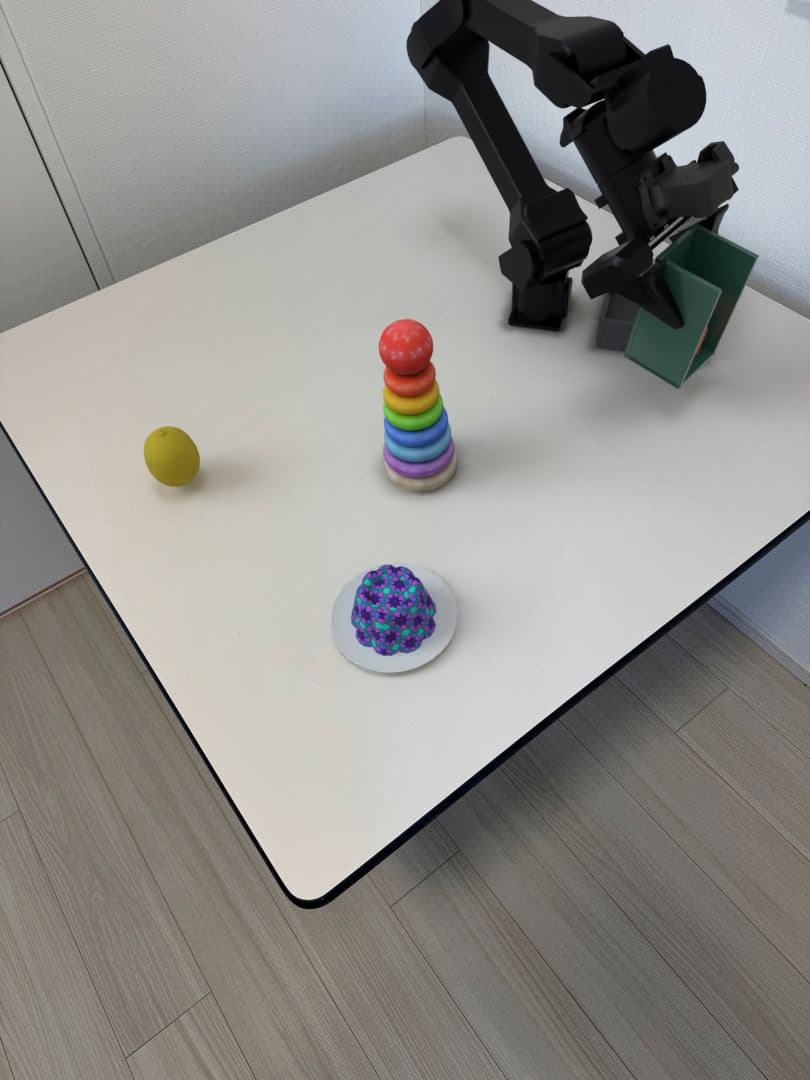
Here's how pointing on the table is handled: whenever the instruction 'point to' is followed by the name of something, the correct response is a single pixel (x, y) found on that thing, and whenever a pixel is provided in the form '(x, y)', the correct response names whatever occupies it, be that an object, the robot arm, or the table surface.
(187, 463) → the lemon
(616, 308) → the bin
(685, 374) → the pour tub
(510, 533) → the table surface
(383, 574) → the pudding
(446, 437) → the stacking toy
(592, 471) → the table surface
